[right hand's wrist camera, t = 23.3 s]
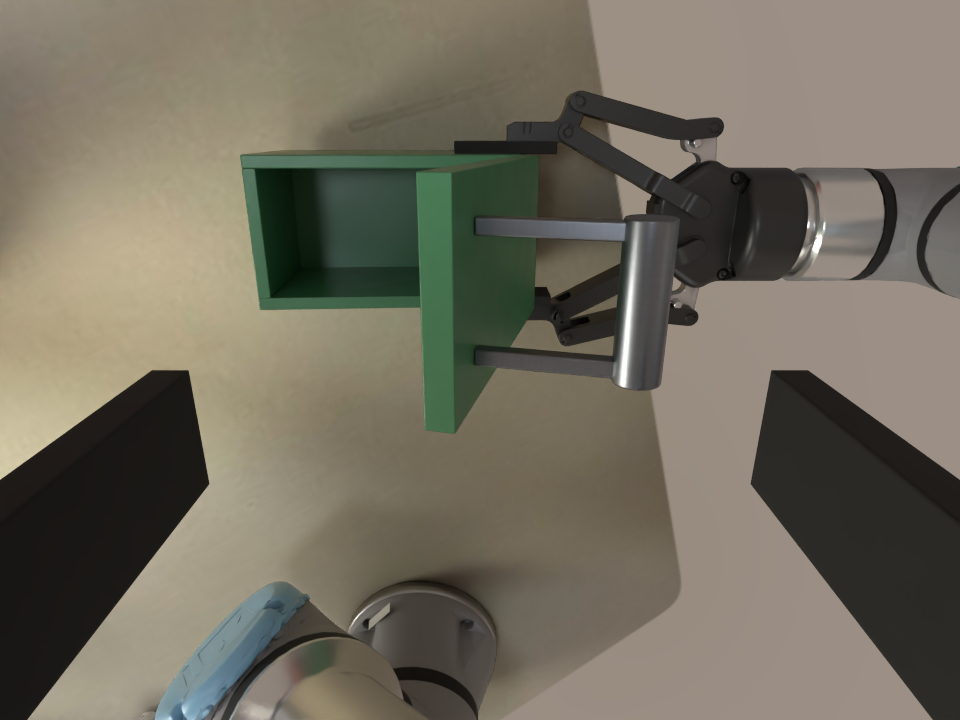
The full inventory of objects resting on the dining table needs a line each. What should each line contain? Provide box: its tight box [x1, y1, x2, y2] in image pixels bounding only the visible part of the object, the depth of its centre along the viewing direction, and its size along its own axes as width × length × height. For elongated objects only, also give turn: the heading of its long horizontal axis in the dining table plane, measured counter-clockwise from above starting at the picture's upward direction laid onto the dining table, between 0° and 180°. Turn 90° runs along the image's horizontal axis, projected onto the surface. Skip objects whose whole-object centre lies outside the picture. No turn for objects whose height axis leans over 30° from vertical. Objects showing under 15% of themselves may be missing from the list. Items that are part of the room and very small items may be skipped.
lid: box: [416, 155, 680, 434], centre depth 28 cm, size 18×9×8 cm
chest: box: [240, 150, 525, 310], centre depth 42 cm, size 17×9×10 cm, turn 90°
